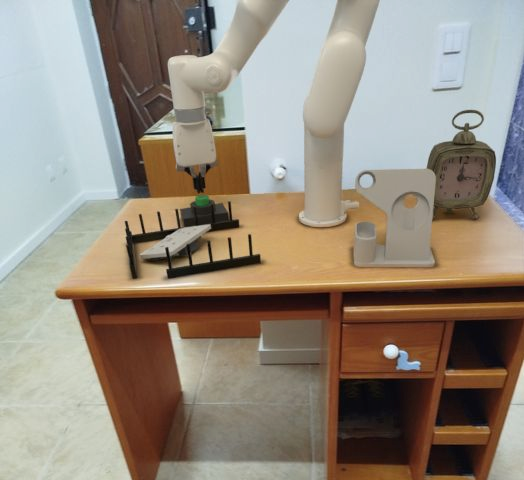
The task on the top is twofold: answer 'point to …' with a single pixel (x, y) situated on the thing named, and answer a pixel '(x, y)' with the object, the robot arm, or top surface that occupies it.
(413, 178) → the phone holder
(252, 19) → the robot arm
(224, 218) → the control block
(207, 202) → the button
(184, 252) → the wall socket
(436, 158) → the tabletop clock
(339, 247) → the top surface
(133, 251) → the dish rack
